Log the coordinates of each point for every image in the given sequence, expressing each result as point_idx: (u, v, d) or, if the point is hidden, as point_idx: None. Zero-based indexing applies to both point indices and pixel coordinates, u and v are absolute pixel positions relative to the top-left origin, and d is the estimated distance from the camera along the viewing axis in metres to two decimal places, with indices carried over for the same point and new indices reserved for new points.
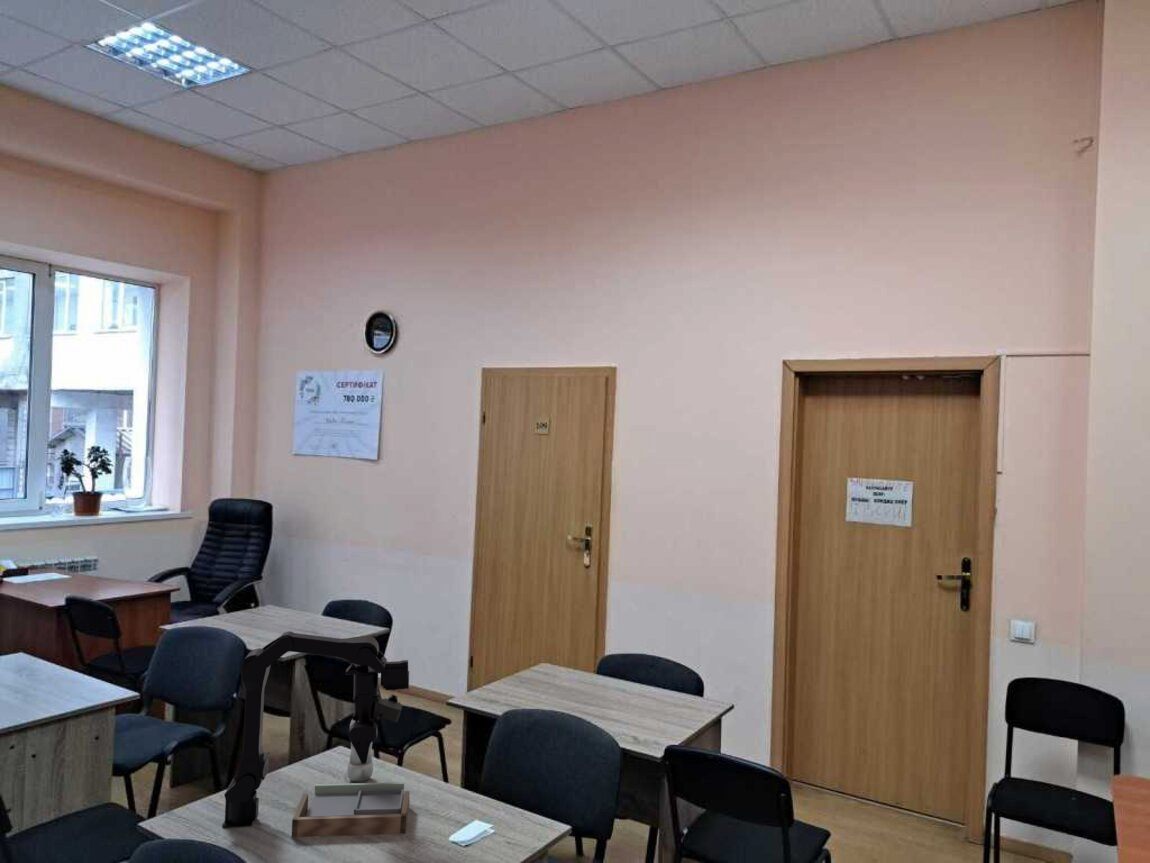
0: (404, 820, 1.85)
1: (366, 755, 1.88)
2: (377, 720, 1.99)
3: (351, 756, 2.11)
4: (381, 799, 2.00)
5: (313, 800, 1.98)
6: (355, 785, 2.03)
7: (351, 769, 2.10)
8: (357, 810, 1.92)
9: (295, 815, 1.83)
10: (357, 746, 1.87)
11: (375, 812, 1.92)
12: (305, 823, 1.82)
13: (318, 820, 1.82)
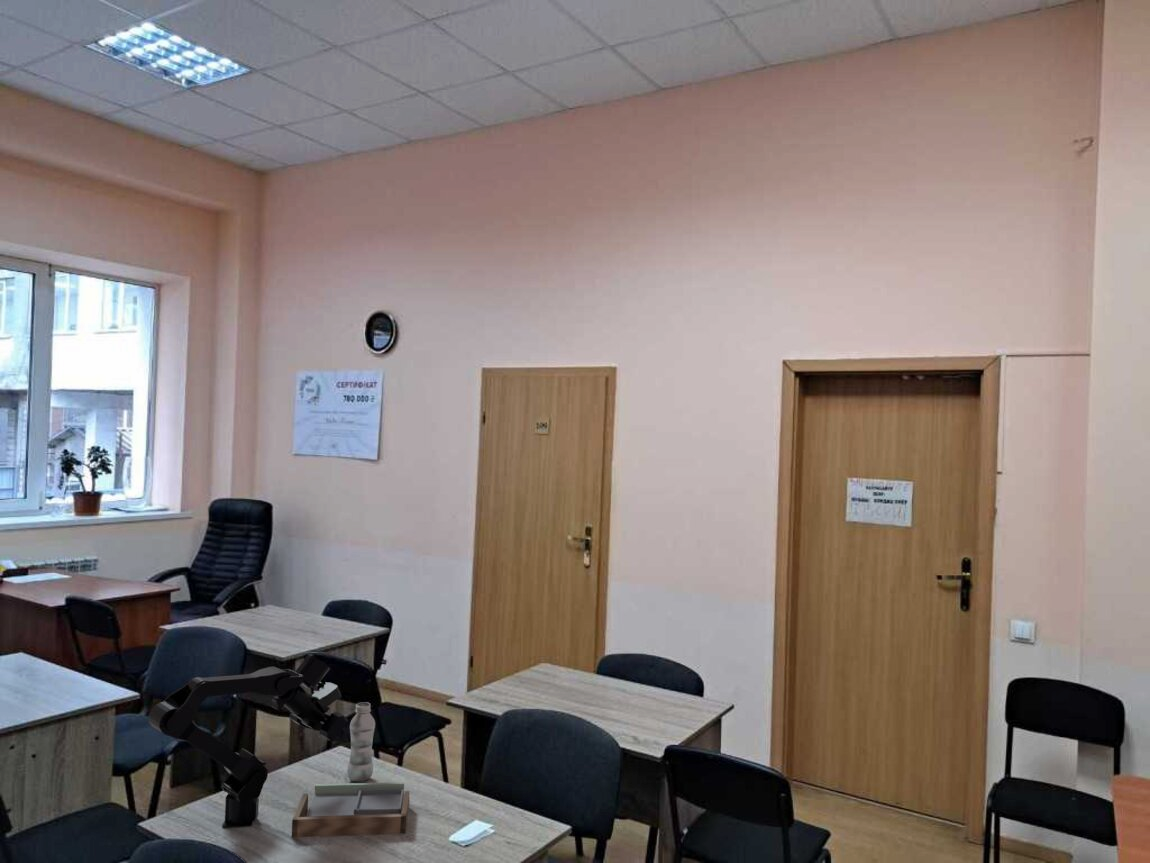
0: (404, 820, 1.85)
1: (346, 735, 2.03)
2: None
3: (351, 756, 2.11)
4: (381, 799, 2.00)
5: (313, 800, 1.98)
6: (355, 785, 2.03)
7: (351, 769, 2.10)
8: (357, 810, 1.92)
9: (295, 815, 1.83)
10: (336, 738, 2.00)
11: (375, 812, 1.92)
12: (305, 823, 1.82)
13: (318, 820, 1.82)
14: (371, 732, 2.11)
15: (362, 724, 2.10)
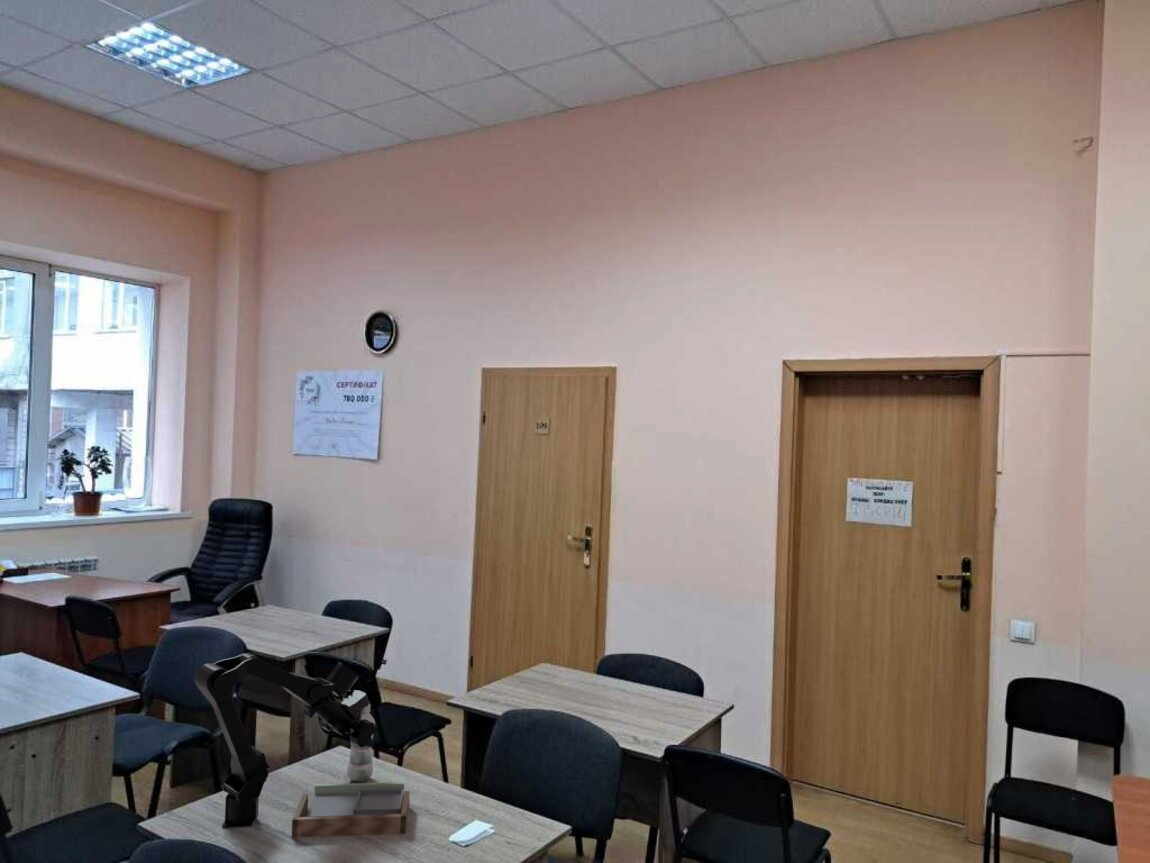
0: (404, 820, 1.85)
1: (371, 740, 2.10)
2: None
3: (351, 756, 2.11)
4: (381, 799, 2.00)
5: (313, 800, 1.98)
6: (355, 785, 2.03)
7: (351, 768, 2.10)
8: (357, 810, 1.92)
9: (295, 815, 1.83)
10: None
11: (375, 812, 1.92)
12: (305, 823, 1.82)
13: (318, 820, 1.82)
14: None
15: None
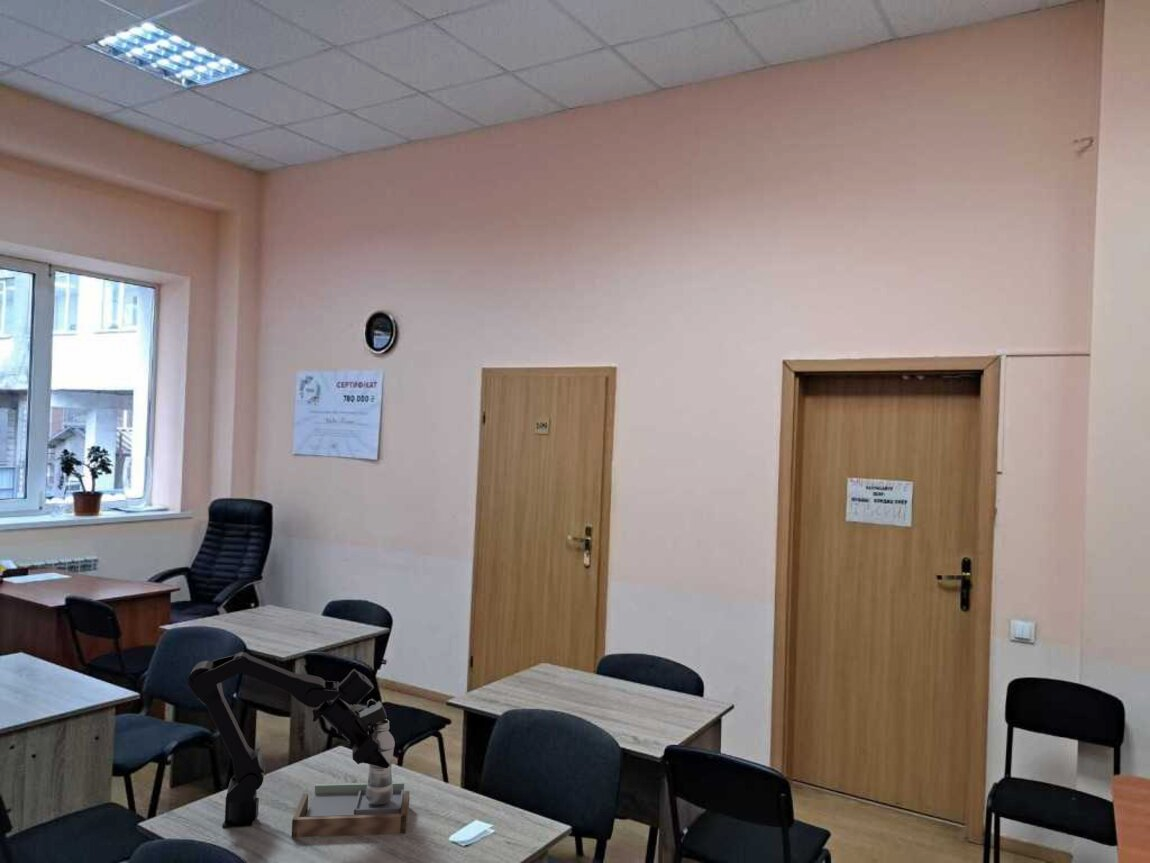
0: (404, 820, 1.85)
1: (384, 760, 1.93)
2: None
3: None
4: None
5: (313, 800, 1.98)
6: (355, 785, 2.03)
7: (367, 789, 1.96)
8: (357, 810, 1.92)
9: (295, 815, 1.83)
10: (370, 761, 1.91)
11: (375, 812, 1.92)
12: (305, 823, 1.82)
13: (318, 820, 1.82)
14: (385, 753, 1.95)
15: None
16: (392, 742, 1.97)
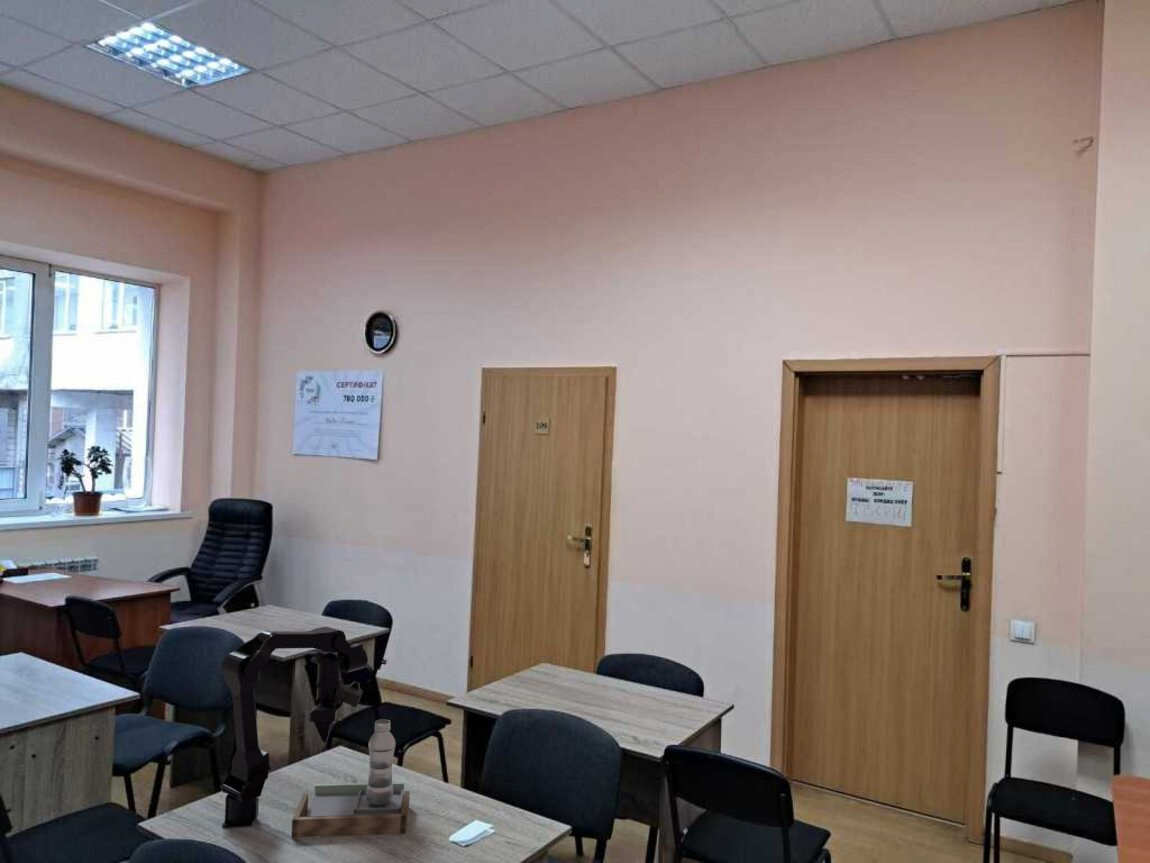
0: (404, 820, 1.85)
1: (327, 734, 2.04)
2: (339, 706, 2.11)
3: (369, 775, 1.97)
4: None
5: (313, 800, 1.98)
6: (355, 785, 2.03)
7: (367, 789, 1.96)
8: (357, 810, 1.92)
9: (295, 815, 1.83)
10: (318, 725, 2.02)
11: (375, 812, 1.92)
12: (305, 823, 1.82)
13: (318, 820, 1.82)
14: (386, 754, 1.95)
15: (376, 743, 1.95)
16: (393, 743, 1.97)
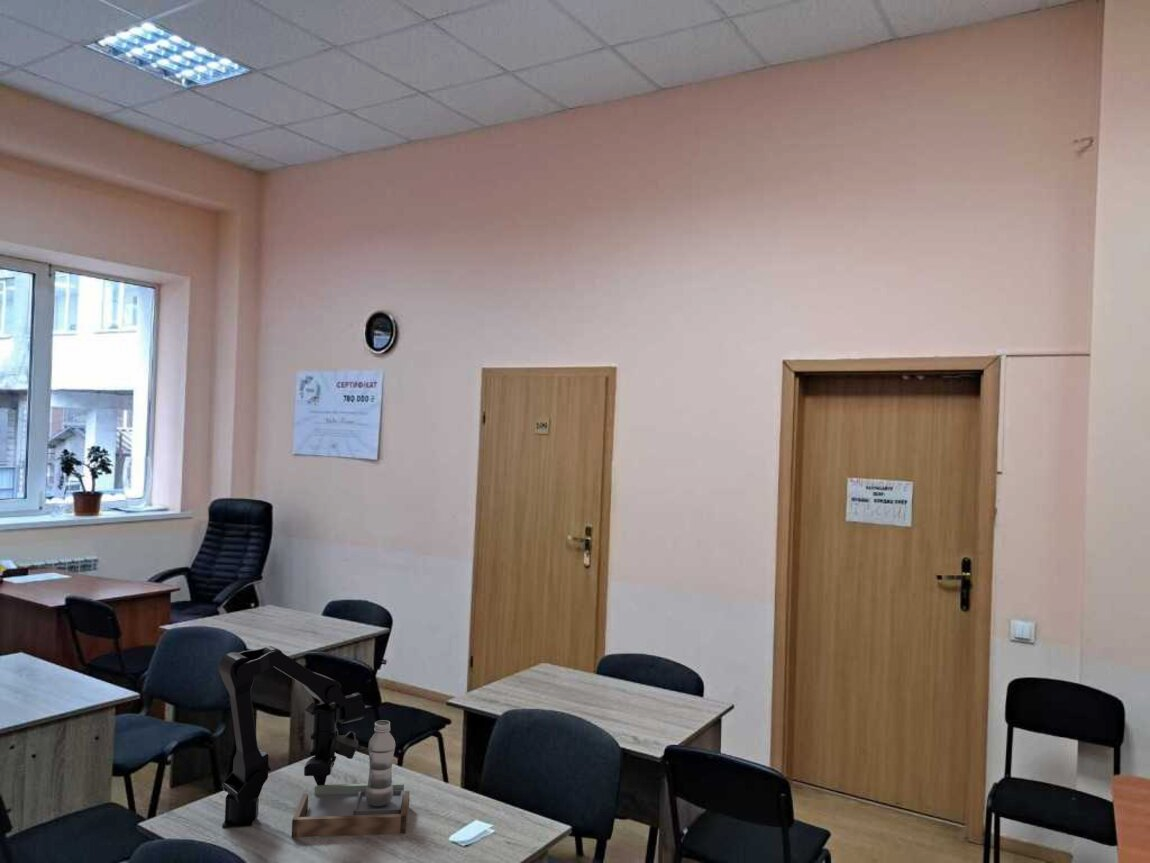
0: (404, 820, 1.85)
1: (323, 782, 2.02)
2: (333, 762, 2.04)
3: None
4: None
5: (313, 801, 1.97)
6: (355, 786, 2.02)
7: (367, 790, 1.96)
8: (357, 811, 1.91)
9: (295, 815, 1.83)
10: None
11: (375, 813, 1.92)
12: (305, 823, 1.82)
13: (318, 820, 1.82)
14: (386, 755, 1.95)
15: (376, 744, 1.95)
16: (393, 743, 1.96)
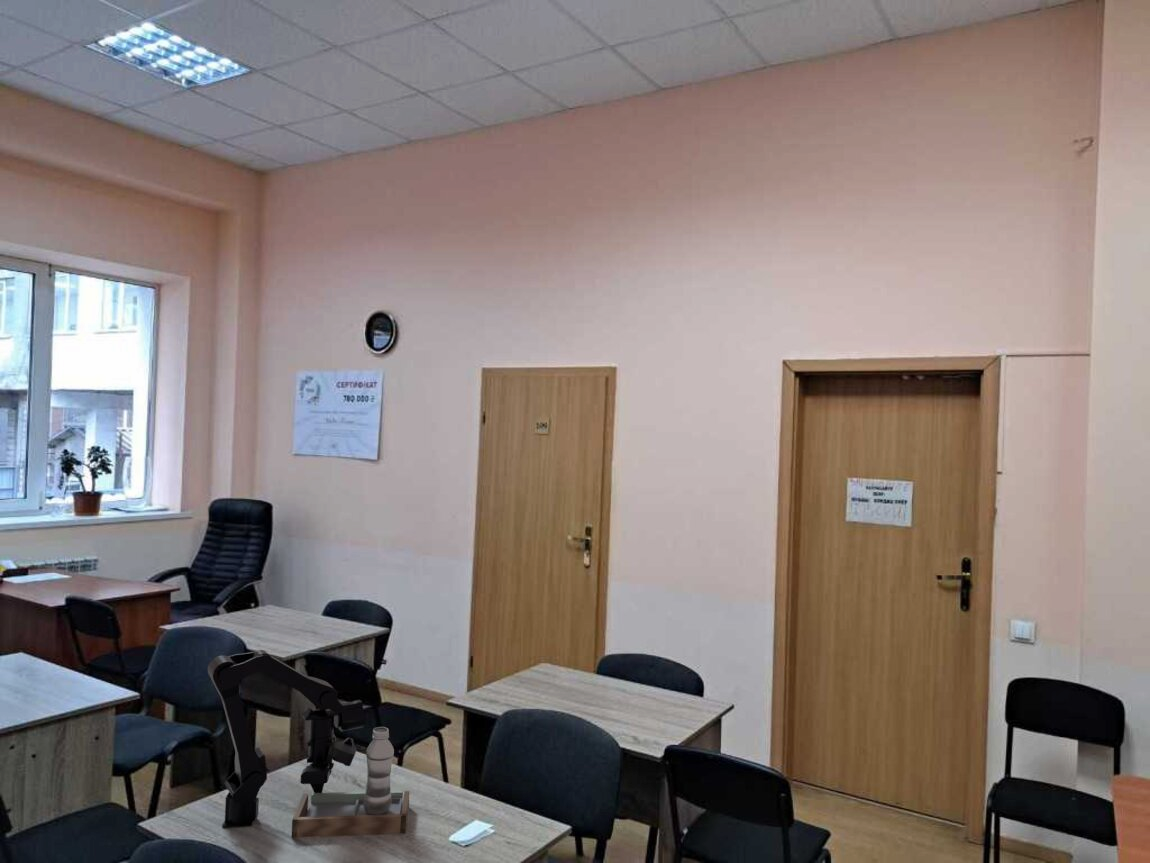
0: (404, 820, 1.85)
1: (321, 790, 1.98)
2: (330, 769, 2.00)
3: None
4: None
5: (309, 810, 1.93)
6: (352, 794, 1.98)
7: (365, 798, 1.91)
8: None
9: (295, 815, 1.83)
10: None
11: None
12: (305, 823, 1.82)
13: (318, 820, 1.82)
14: (384, 762, 1.90)
15: (374, 751, 1.90)
16: (391, 751, 1.92)
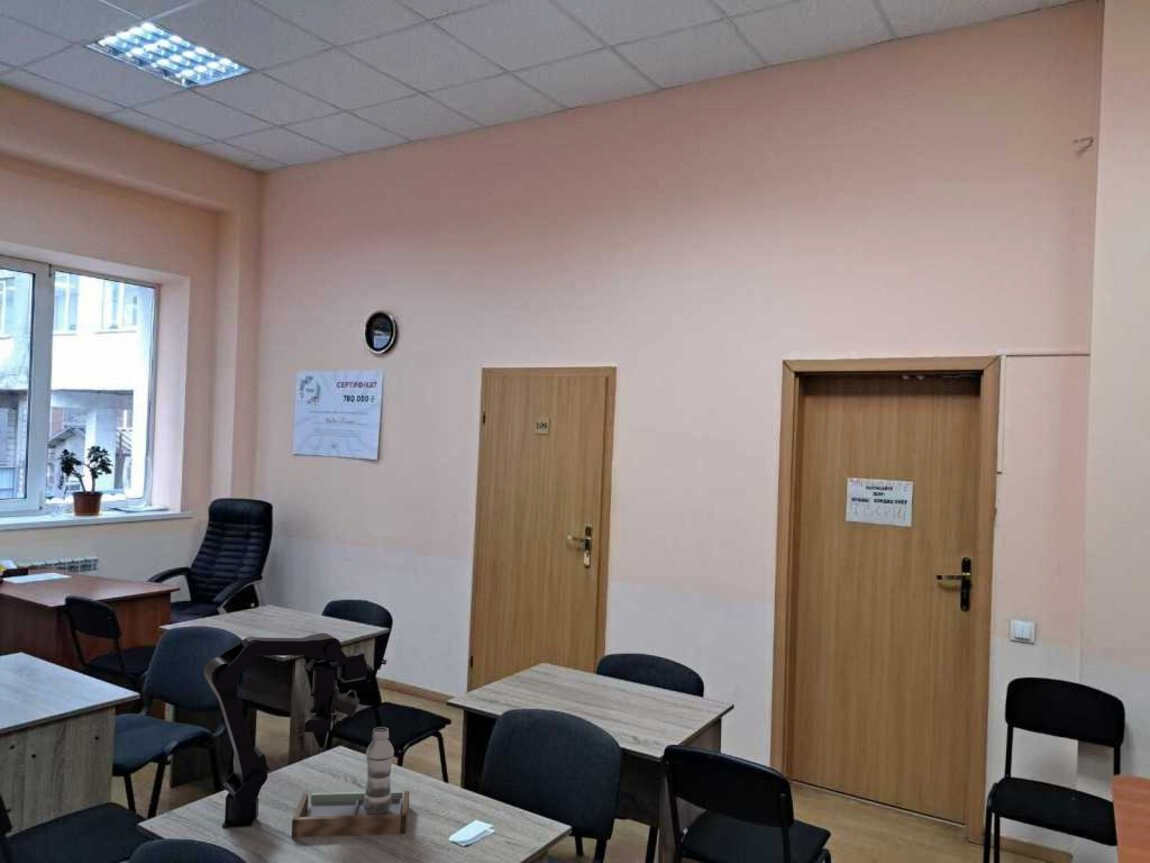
0: (404, 820, 1.85)
1: (324, 740, 2.00)
2: (333, 720, 2.01)
3: None
4: None
5: (309, 810, 1.93)
6: (352, 794, 1.98)
7: (365, 798, 1.91)
8: None
9: (295, 815, 1.83)
10: (316, 731, 1.99)
11: None
12: (305, 823, 1.82)
13: (318, 820, 1.82)
14: (384, 762, 1.90)
15: (374, 751, 1.90)
16: (391, 751, 1.92)
